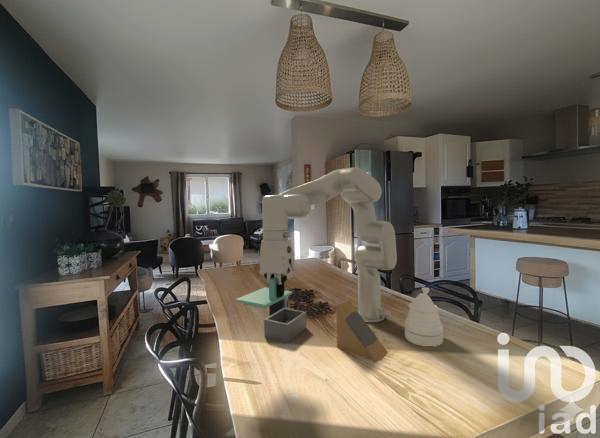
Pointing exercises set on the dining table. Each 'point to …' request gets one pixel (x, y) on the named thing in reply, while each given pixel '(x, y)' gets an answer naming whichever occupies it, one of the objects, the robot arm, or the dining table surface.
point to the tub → (281, 330)
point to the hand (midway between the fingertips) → (276, 295)
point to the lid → (264, 295)
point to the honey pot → (423, 322)
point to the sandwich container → (357, 334)
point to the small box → (278, 306)
